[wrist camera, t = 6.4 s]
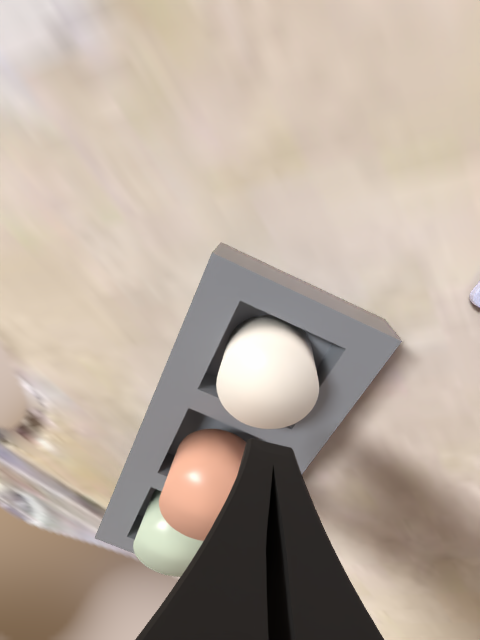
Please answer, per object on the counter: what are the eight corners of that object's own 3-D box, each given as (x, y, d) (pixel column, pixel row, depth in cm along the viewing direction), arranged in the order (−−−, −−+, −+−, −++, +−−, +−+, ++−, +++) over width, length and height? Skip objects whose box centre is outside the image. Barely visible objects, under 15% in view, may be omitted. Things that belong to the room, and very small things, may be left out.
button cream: (328, 337, 16) (339, 369, 14) (287, 402, 18) (289, 442, 15) (247, 300, 16) (241, 326, 13) (213, 370, 18) (201, 405, 15)
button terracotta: (269, 449, 18) (268, 499, 15) (236, 499, 19) (229, 553, 17) (193, 416, 17) (177, 461, 14) (166, 471, 19) (147, 520, 16)
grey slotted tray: (385, 319, 17) (401, 341, 14) (223, 549, 25) (218, 585, 23) (221, 242, 16) (212, 252, 14) (111, 505, 24) (94, 538, 22)
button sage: (225, 498, 21) (218, 545, 19) (201, 537, 23) (191, 585, 20) (162, 473, 21) (145, 517, 18) (142, 513, 23) (124, 559, 20)
